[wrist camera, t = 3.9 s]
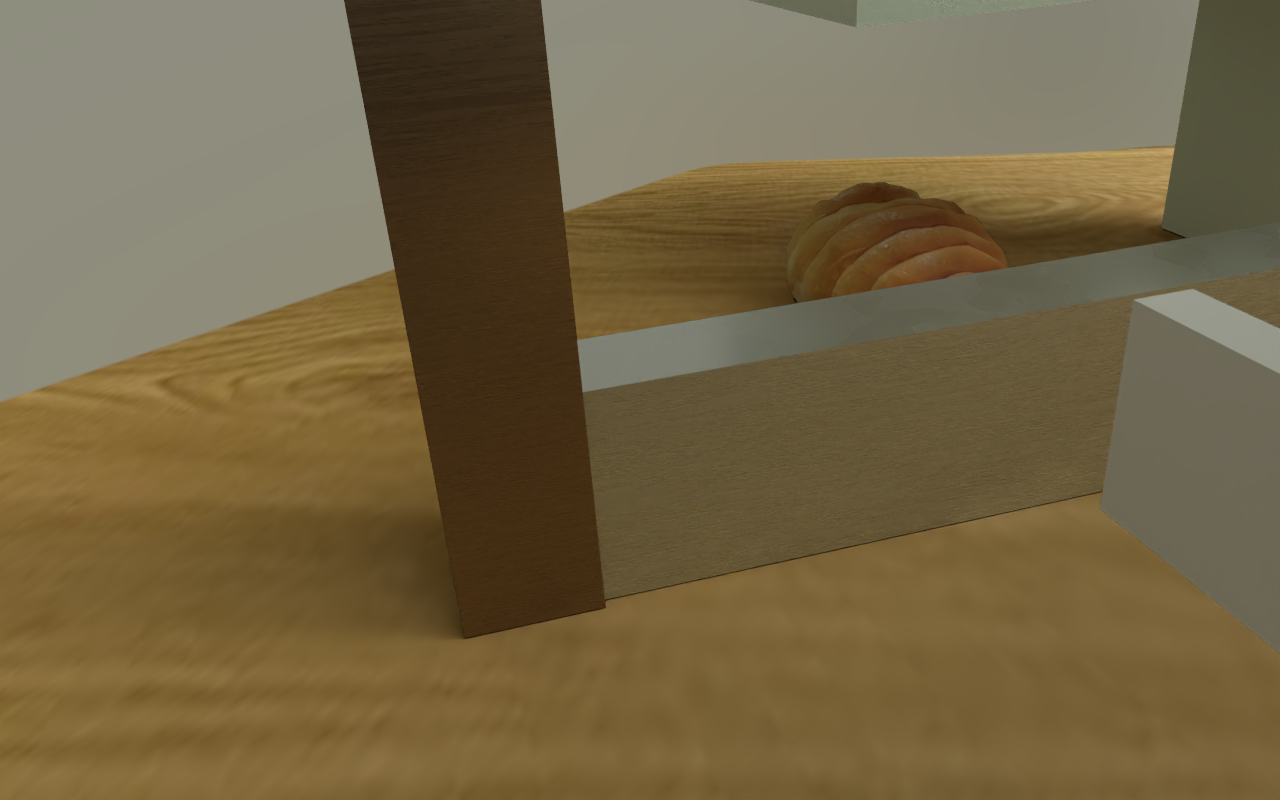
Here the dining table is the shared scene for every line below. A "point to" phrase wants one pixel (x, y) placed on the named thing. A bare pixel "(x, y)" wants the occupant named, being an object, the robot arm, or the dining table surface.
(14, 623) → the dining table surface
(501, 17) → the l-shaped try square
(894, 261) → the pastry
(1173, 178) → the green cabinet
